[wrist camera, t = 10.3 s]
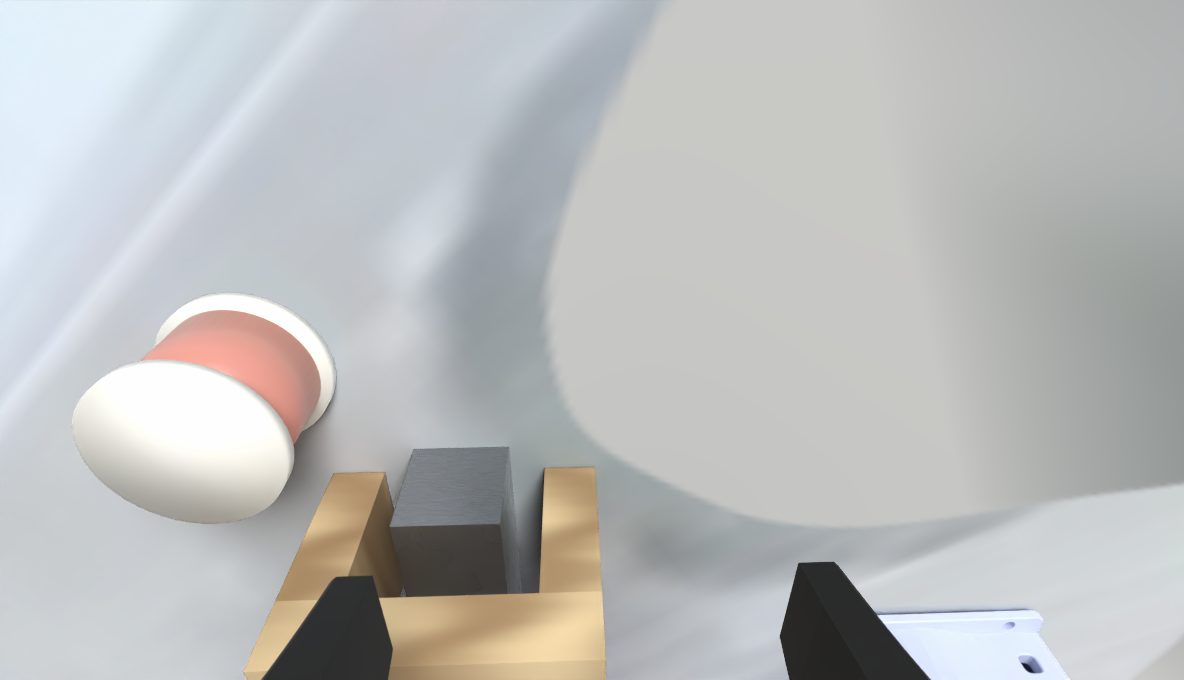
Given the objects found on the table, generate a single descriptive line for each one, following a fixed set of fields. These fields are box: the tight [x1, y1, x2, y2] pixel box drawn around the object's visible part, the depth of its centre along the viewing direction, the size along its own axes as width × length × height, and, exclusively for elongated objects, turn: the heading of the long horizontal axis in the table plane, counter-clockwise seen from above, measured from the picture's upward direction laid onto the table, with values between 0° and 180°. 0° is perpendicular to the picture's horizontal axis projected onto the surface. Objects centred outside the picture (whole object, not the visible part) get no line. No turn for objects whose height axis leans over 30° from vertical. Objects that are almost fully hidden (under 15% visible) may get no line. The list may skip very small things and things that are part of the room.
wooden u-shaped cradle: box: [243, 467, 606, 680], centre depth 20 cm, size 9×5×7 cm, turn 90°
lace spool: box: [72, 292, 336, 524], centre depth 17 cm, size 5×5×4 cm
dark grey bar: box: [390, 447, 523, 597], centre depth 24 cm, size 3×16×4 cm, turn 0°
